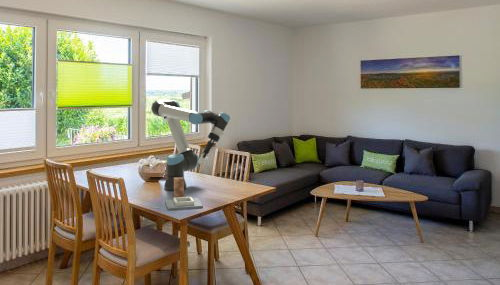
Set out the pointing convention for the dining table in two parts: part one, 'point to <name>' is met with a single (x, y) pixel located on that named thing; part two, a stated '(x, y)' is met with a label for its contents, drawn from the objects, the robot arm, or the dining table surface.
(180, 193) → the pillar
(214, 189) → the dining table surface
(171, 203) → the baseplate
